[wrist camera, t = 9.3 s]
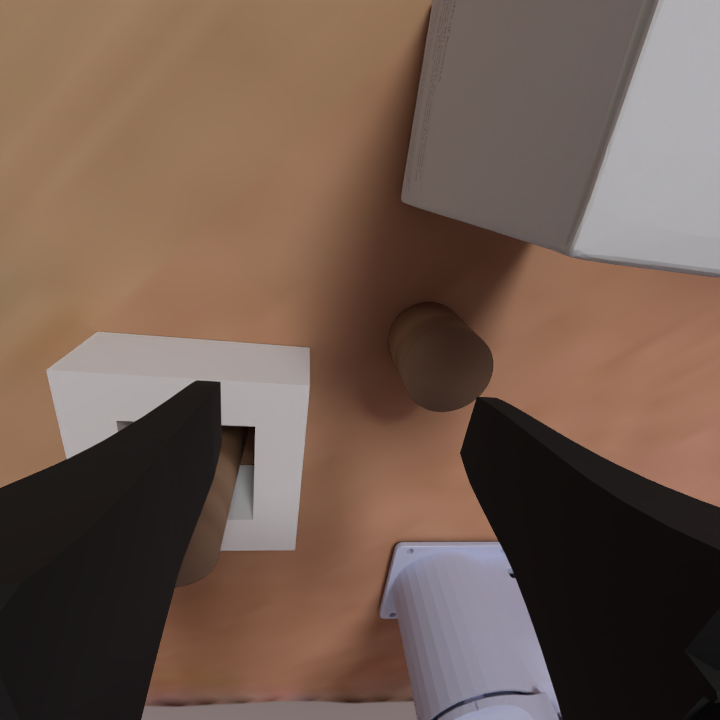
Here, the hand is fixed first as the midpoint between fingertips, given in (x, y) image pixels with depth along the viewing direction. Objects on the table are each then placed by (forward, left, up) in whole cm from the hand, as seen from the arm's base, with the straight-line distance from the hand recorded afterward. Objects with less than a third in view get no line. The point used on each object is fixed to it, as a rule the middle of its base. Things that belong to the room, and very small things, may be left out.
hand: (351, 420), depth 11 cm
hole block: (+6, +7, -9) cm, 13 cm away
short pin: (-5, +1, -10) cm, 11 cm away
